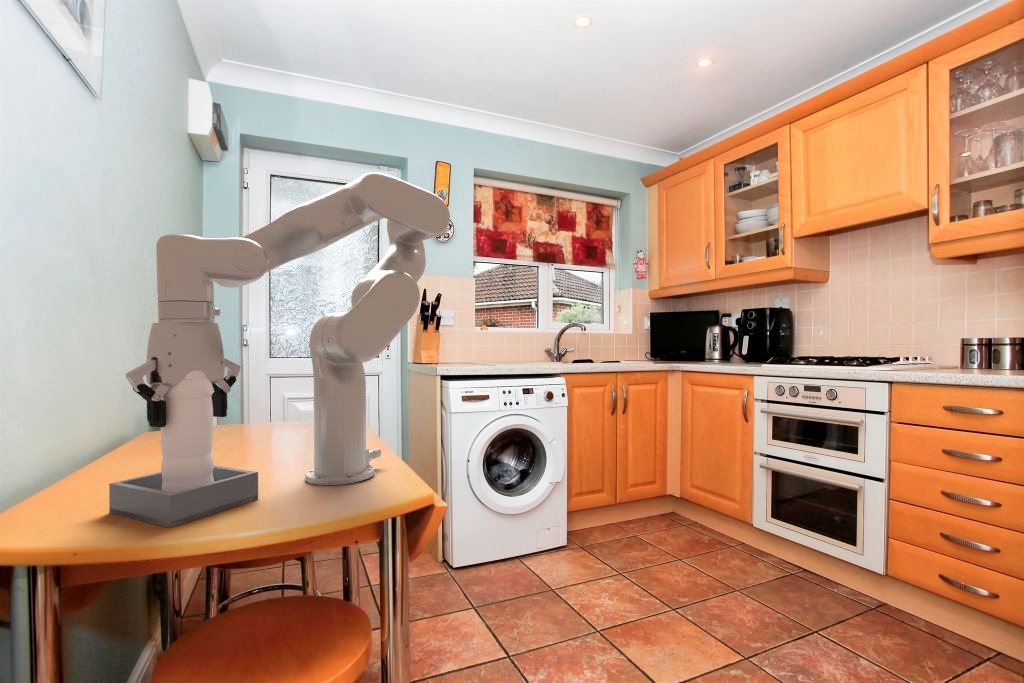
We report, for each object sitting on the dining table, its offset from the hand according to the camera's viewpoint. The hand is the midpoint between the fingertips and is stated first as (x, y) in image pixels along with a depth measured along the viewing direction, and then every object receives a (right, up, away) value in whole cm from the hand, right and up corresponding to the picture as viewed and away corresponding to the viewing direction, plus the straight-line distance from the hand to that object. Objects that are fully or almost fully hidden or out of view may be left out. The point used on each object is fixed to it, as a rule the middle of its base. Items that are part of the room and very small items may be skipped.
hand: (189, 421), depth 80 cm
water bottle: (0, -13, 0) cm, 13 cm away
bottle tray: (0, -13, 0) cm, 13 cm away
